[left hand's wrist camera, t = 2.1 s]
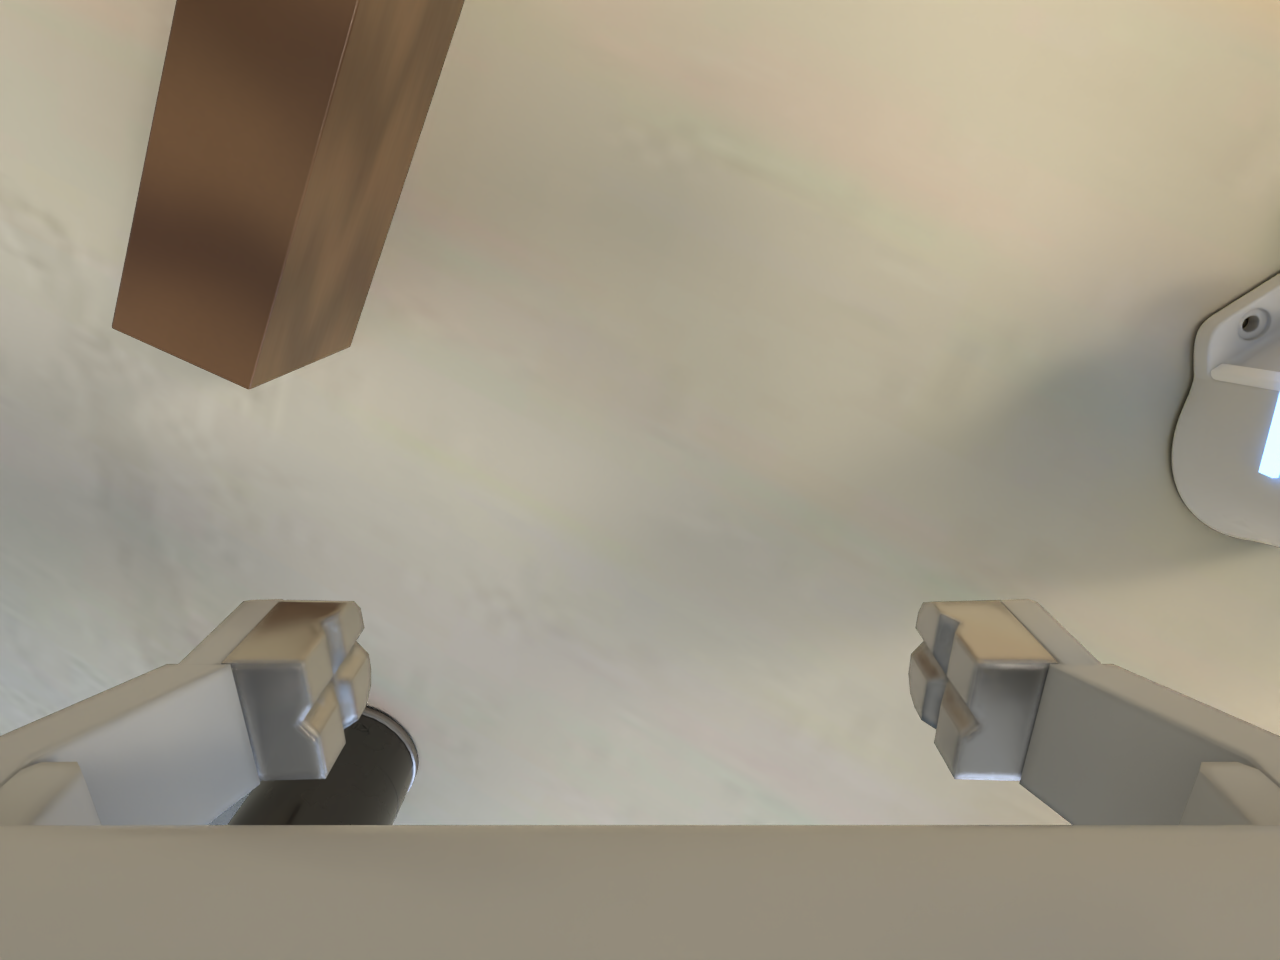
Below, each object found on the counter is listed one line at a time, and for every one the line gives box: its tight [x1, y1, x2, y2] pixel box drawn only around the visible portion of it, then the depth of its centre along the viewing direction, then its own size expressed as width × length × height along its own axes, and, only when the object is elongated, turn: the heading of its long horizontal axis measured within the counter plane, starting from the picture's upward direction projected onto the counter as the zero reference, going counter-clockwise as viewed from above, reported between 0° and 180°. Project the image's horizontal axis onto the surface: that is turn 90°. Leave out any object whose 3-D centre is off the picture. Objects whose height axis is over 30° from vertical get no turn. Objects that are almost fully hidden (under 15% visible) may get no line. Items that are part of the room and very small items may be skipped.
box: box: [112, 0, 464, 389], centre depth 30 cm, size 28×6×10 cm, turn 154°
